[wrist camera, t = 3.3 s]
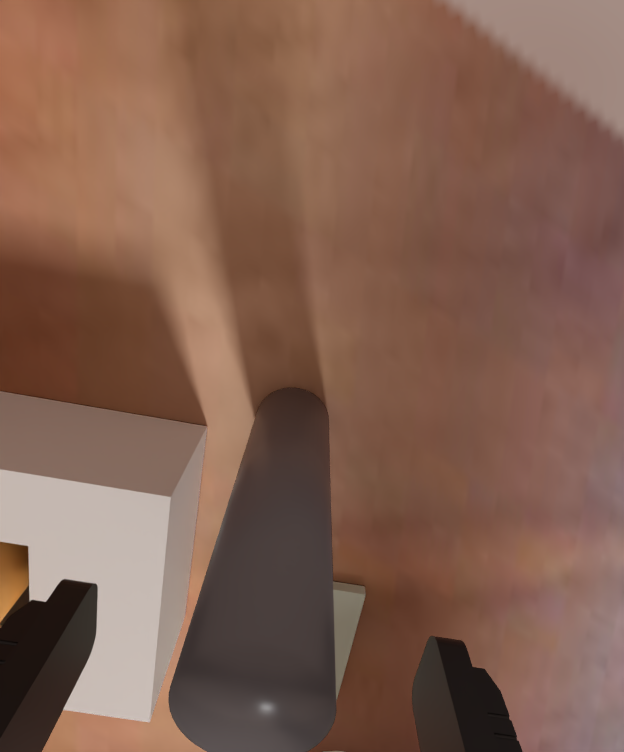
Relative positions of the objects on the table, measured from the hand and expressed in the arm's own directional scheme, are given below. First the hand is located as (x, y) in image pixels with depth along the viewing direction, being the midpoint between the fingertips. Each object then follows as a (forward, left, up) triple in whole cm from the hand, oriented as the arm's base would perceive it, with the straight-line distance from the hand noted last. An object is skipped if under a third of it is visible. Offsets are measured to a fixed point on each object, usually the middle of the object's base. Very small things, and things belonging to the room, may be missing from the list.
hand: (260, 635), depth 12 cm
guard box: (+12, +7, -12) cm, 19 cm away
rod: (0, 0, -12) cm, 12 cm away
